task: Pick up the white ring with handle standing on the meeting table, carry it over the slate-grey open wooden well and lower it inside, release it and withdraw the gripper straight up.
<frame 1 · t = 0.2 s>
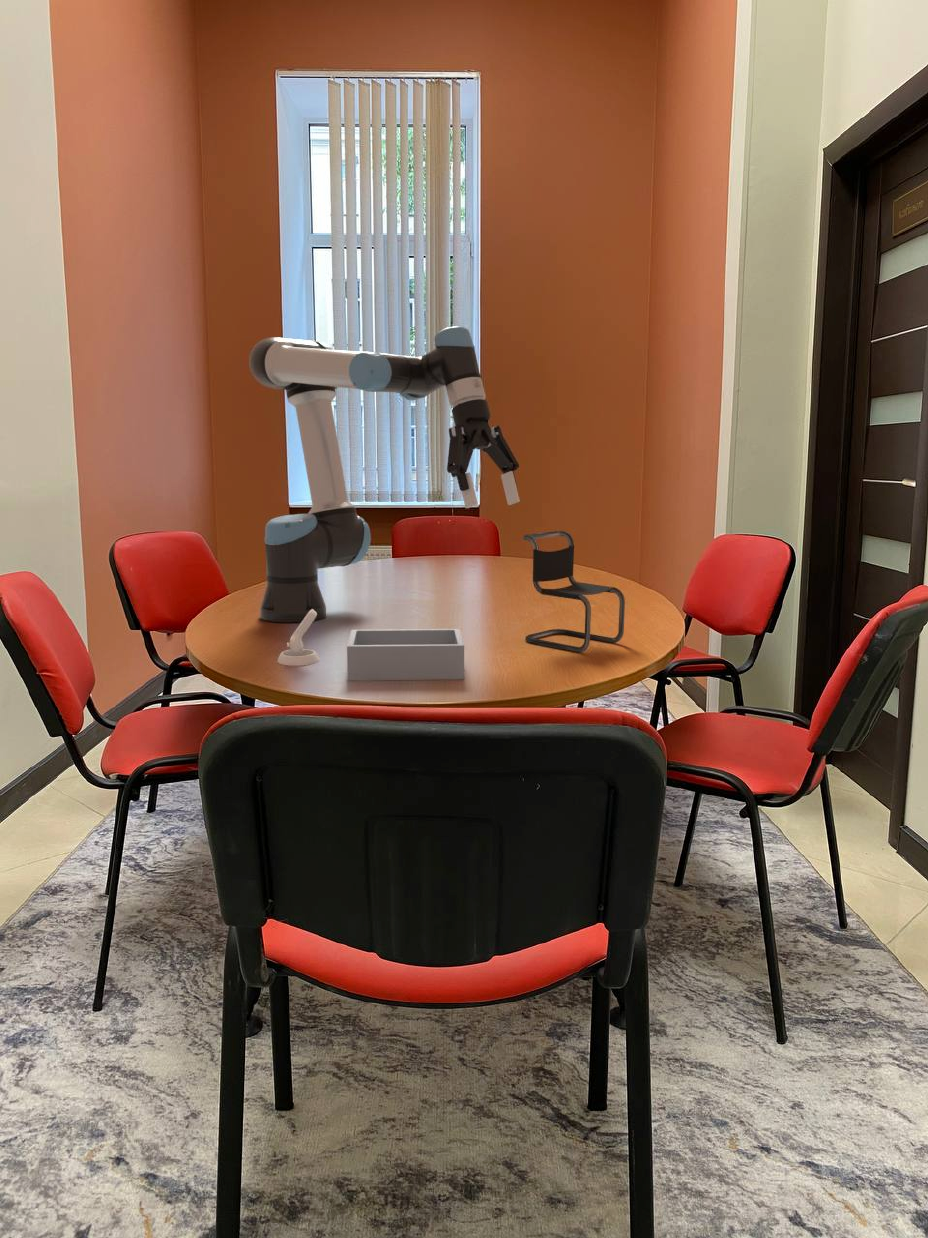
hand: (493, 504, 184), 28 cm above the table, tool tilted 20°, fingers open, 13 cm apart
white ring with handle: (298, 662, 169), on the table
well: (405, 669, 163), on the table
chair: (571, 644, 186), on the table
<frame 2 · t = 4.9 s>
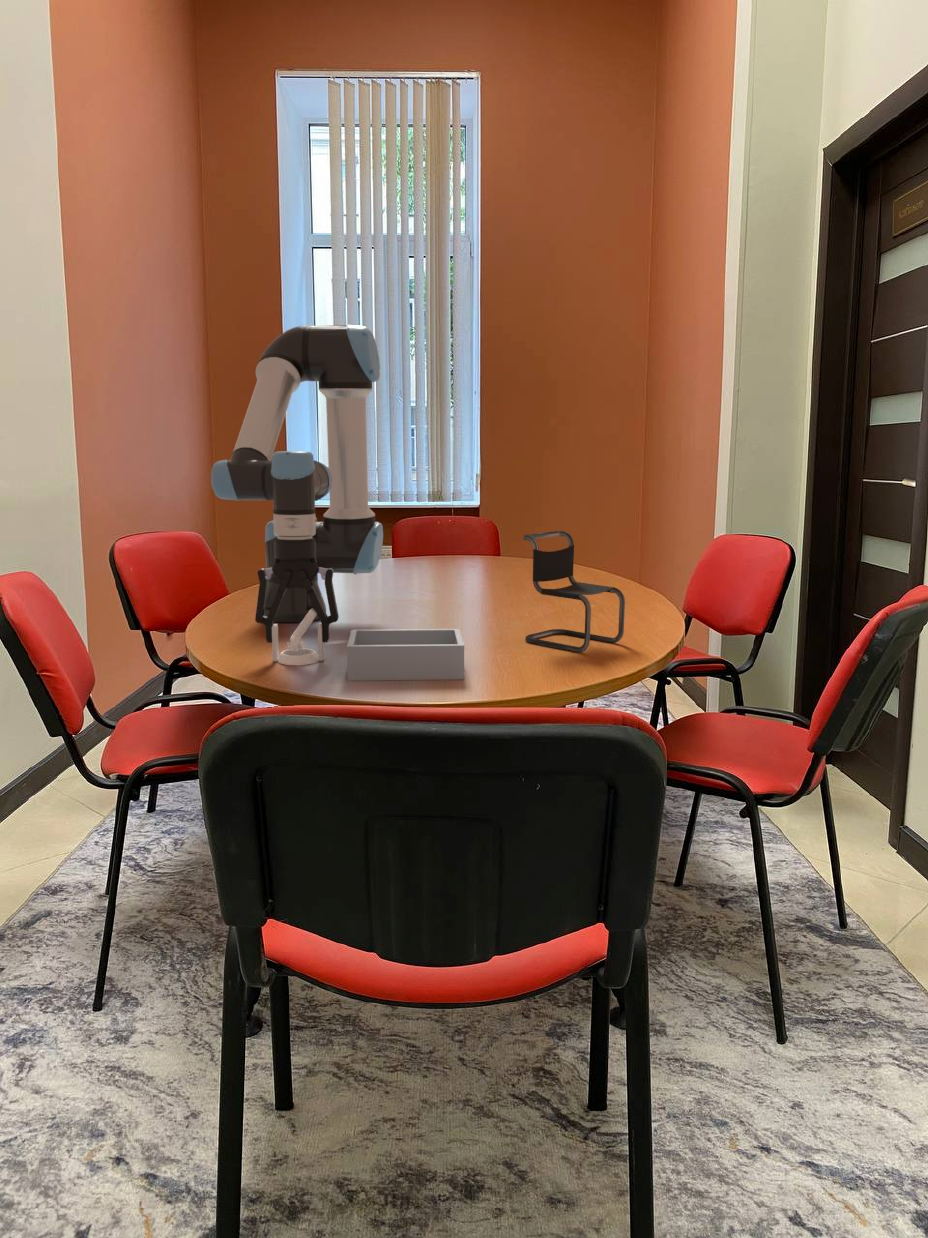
hand: (298, 659, 169), 0 cm above the table, tool pointing down, fingers closed on white ring with handle, 8 cm apart
white ring with handle: (298, 661, 169), on the table, touching gripper
everything else where it was.
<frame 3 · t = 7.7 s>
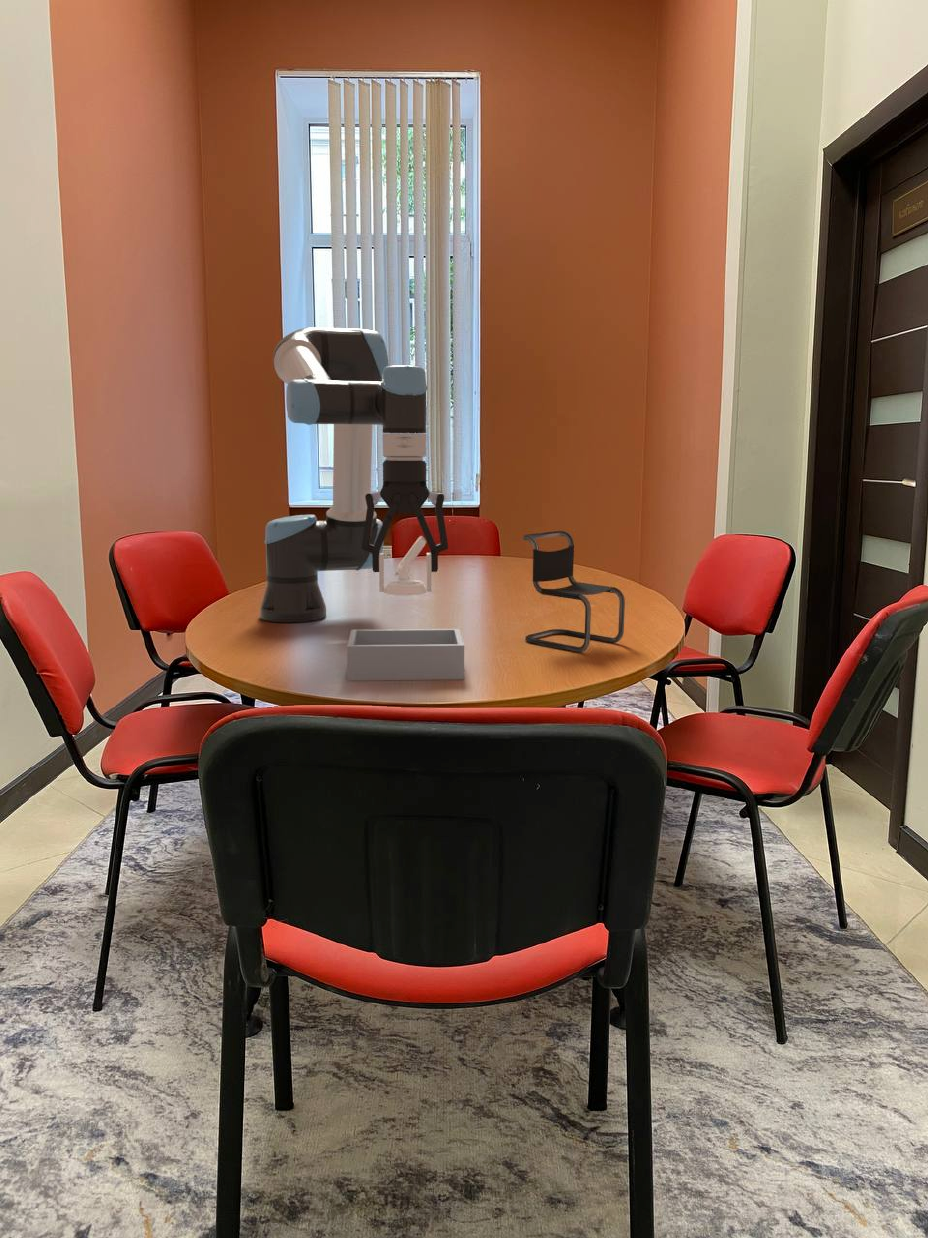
hand: (405, 590, 160), 14 cm above the table, tool pointing down, fingers closed on white ring with handle, 8 cm apart
white ring with handle: (405, 592, 160), point 14 cm above the table, touching gripper
everything else where it was.
when the fingers open (2 cm above the table, at t = 10.7 s): white ring with handle drops 1 cm, resting in well.
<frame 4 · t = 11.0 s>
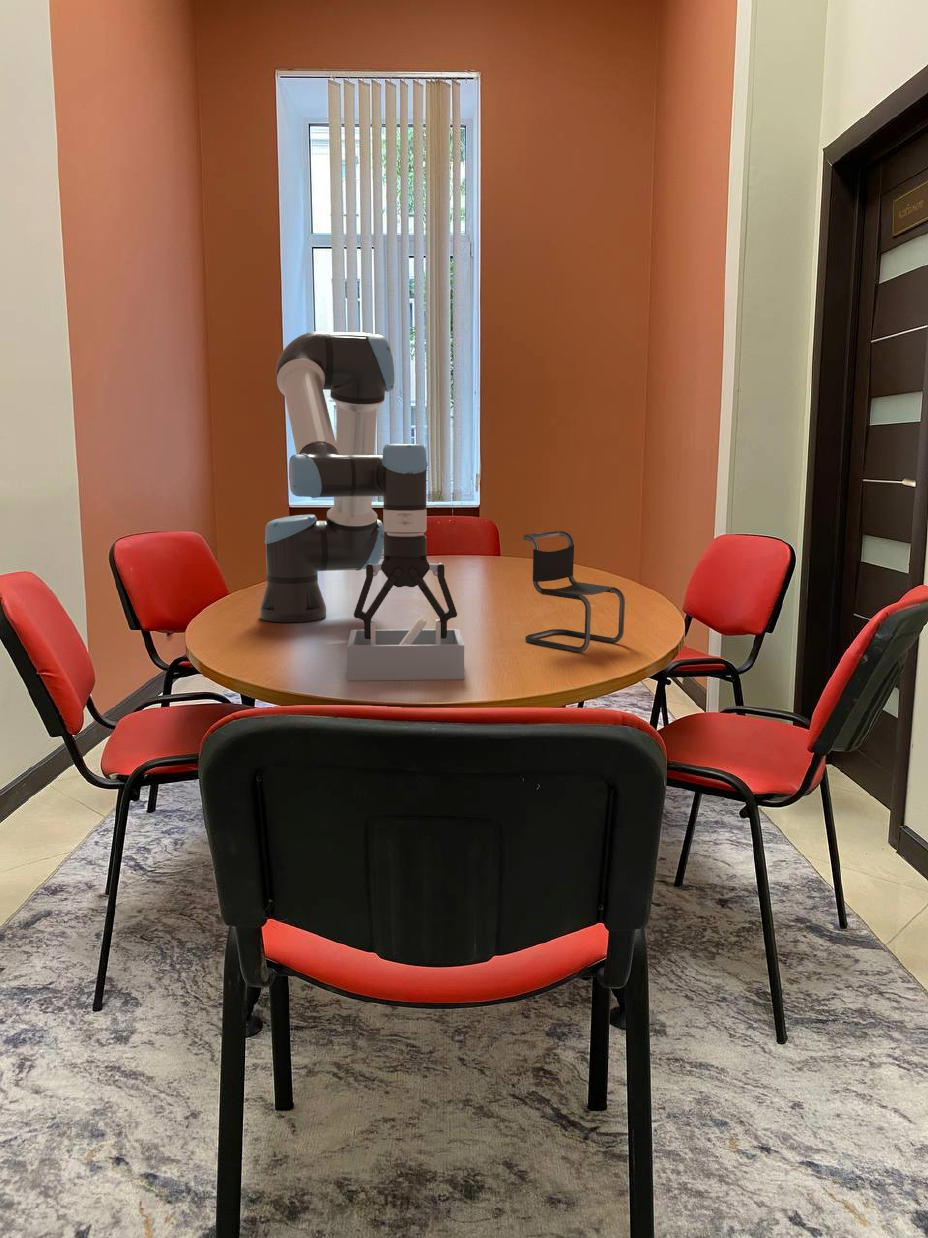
hand: (405, 656, 162), 2 cm above the table, tool pointing down, fingers open, 11 cm apart
white ring with handle: (406, 671, 163), resting in well
everything else where it was.
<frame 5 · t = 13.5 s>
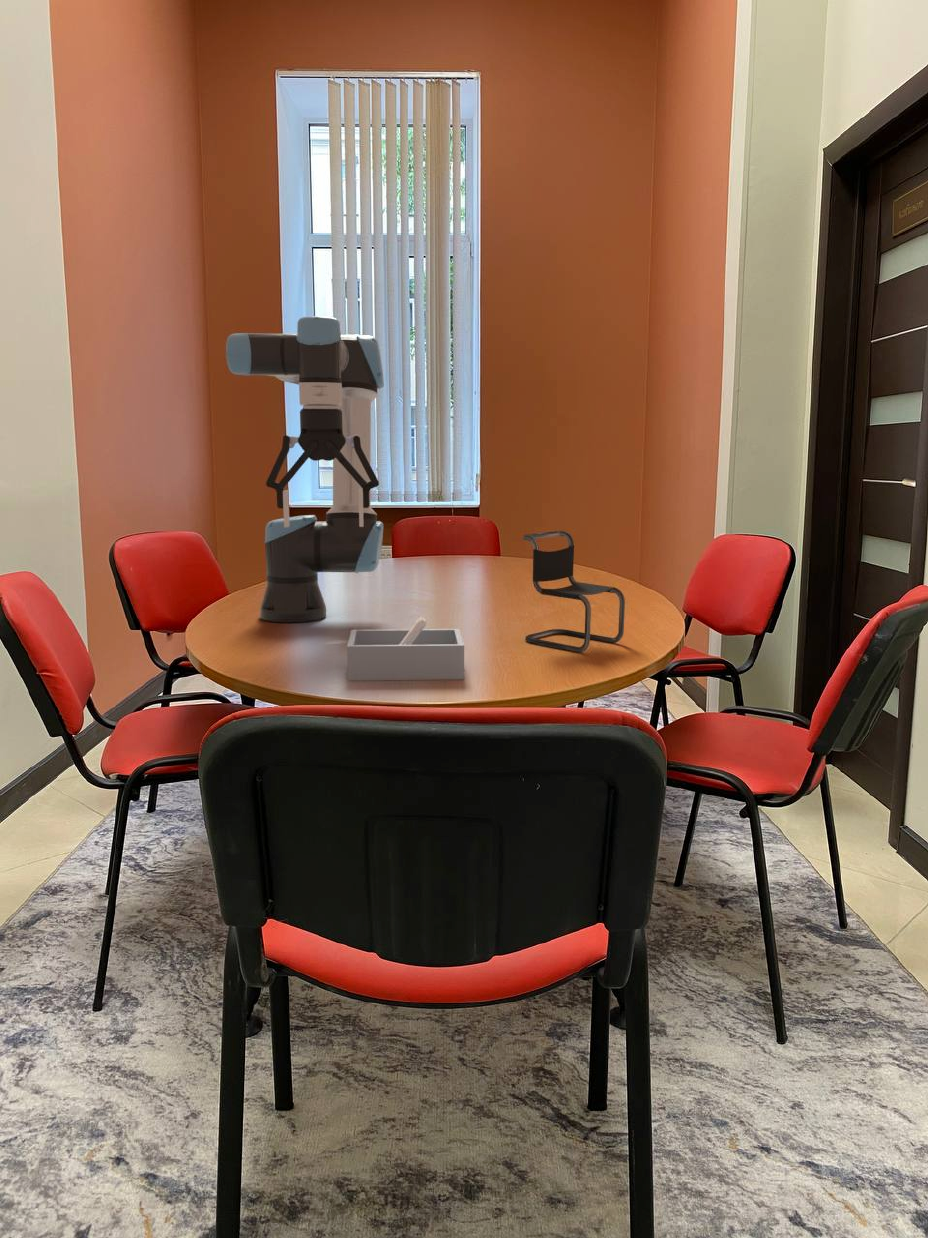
hand: (324, 526, 167), 25 cm above the table, tool pointing down, fingers open, 13 cm apart
nothing on the table moved.
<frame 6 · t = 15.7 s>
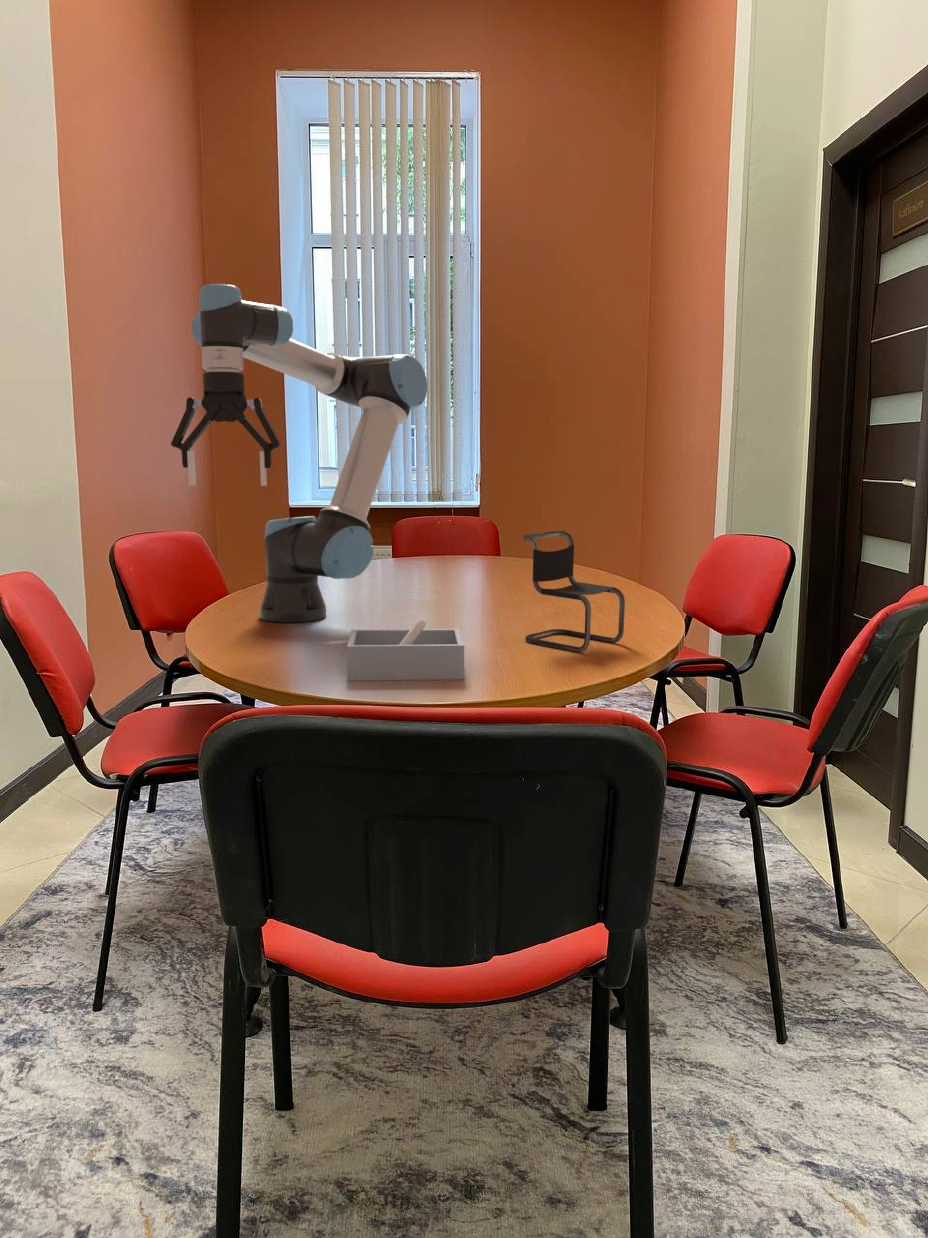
hand: (228, 485, 175), 32 cm above the table, tool pointing down, fingers open, 13 cm apart
nothing on the table moved.
at the end: white ring with handle inside the target area on the well (0.0 cm from its centre), point 0.0 cm above the well's base; white ring with handle tilted 0°; the gripper is holding nothing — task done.
